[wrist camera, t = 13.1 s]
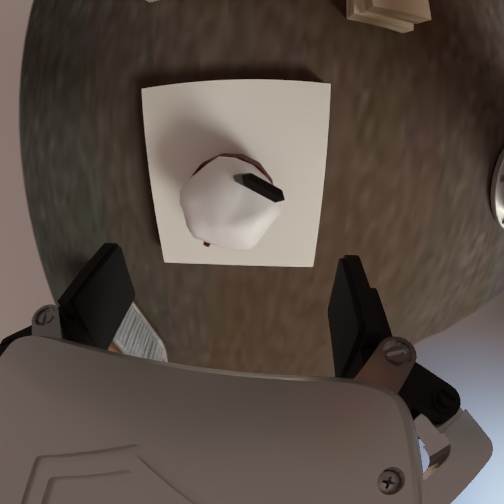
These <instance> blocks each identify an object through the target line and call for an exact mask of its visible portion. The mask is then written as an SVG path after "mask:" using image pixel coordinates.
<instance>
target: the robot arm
mask: <svg viewBox="0 0 504 504" xmlns="http://www.w3.org/2000/svg"><path fill="white" fill-rule="evenodd" d="M491 207H492V212H493V215H494V218H495V220H496V222H497V223H498V224H499V225H500V226H501V227H502V228H503V229H504V148H503V150H502V152H501V154H500V156H499V158H498V161H497V163H496V166H495V169H494V173H493V177H492V184H491ZM134 298H135V292H134V289H133V285H132V282H131V279H130V276H129V273H128V269H127V266H126V263H125V259H124V256H123V252H122V249H121V247H119V246H118V244H116V243H105V244H103V246H102V247H101V248H100V249H99V250H98V251H97V252H96V254H95V255H94V256H93V257H92V258H91V260H90V261H89V262H88V263H87V264H86V266H85V267H84V268H83V269H82V270H81V272H80V273H79V274H78V275H77V277H76V278H75V279H74V280H73V282H72V283H71V284H70V286H69V287H68V288H67V289H66V291H65V292H64V293H63V295H62V296H61V297H60V299H59V300H58V303H59V304H60V306H59V308H57V307H56V306H55V305H45V306H43V307H41V308H40V309H38V310H37V311H36V312H35V314H34V316H33V318H32V325H31V326H29V327H27V328H25V329H23V330H21V331H19V332H16V333H14V334H12V335H10V336H8V337H6V338H5V339H3V340H2V342H1V344H0V504H450V503H451V502H452V501H453V500H454V499H455V498H456V497H457V496H458V495H459V494H460V493H461V492H462V491H463V490H464V489H465V488H466V487H467V486H468V484H469V483H470V482H471V481H472V480H473V479H474V478H475V476H476V475H477V474H478V473H479V472H480V470H481V469H482V468H483V467H484V466H485V464H486V463H487V462H488V460H489V459H490V457H491V455H492V451H493V447H492V443H491V440H490V439H489V437H488V436H487V435H486V434H485V432H484V431H483V430H482V428H481V427H480V426H479V425H478V423H477V422H476V421H475V420H474V419H473V418H472V416H471V415H470V414H469V412H468V411H467V410H466V409H465V410H464V411H463V410H462V409H461V408H460V397H459V394H458V392H457V391H456V389H455V388H453V387H452V386H451V385H449V384H448V383H446V382H445V381H443V380H442V379H440V378H439V377H437V376H436V375H434V374H433V373H431V372H430V371H428V370H427V369H425V368H424V367H422V366H421V365H419V364H418V363H416V362H415V361H416V351H415V349H414V347H413V346H412V344H411V343H410V342H408V341H407V340H406V339H403V338H401V337H396V336H393V337H392V334H391V330H390V327H389V324H388V321H387V318H386V315H385V312H384V309H383V306H382V303H381V300H380V297H379V294H378V292H377V290H376V289H375V288H370V286H369V283H368V280H367V277H366V274H365V271H364V269H363V266H362V263H361V260H360V258H359V256H357V255H345V256H344V258H340V259H339V262H338V267H337V271H336V276H335V281H334V285H333V289H332V294H331V298H330V302H329V306H328V318H329V326H330V333H331V341H332V350H333V358H334V367H335V377H320V376H295V375H277V374H261V373H248V372H237V371H227V370H218V369H210V368H202V367H195V366H188V365H181V364H175V363H168V362H163V361H157V360H151V359H146V358H141V357H136V356H131V355H126V354H122V353H117V352H113V351H109V350H108V348H109V346H110V344H111V342H112V340H113V338H114V336H115V335H116V333H117V331H118V329H119V327H120V325H121V323H122V321H123V319H124V317H125V316H126V314H127V312H128V310H129V308H130V306H131V305H132V303H133V301H134ZM418 439H421V440H422V442H423V443H424V444H425V446H424V448H425V450H426V451H427V453H428V455H429V459H430V463H429V466H428V468H427V470H426V471H425V472H424V473H423V470H422V461H421V454H420V447H419V441H418ZM383 471H384V472H383ZM381 472H382V473H381Z"/></svg>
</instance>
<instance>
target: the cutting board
mask: <svg viewBox="0 0 504 504" xmlns="http://www.w3.org/2000/svg"><path fill="white" fill-rule="evenodd" d="M141 90H142V106H143V119H144V130H145V140H146V149H147V158H148V166H149V174H150V181H151V188H152V195H153V201H154V208H155V214H156V220H157V225H158V231H159V236H160V242H161V247H162V252H163V257H164V262H170V263H195V264H224V265H256V266H292V267H313V264H314V257H315V250H316V243H317V235H318V228H319V220H320V212H321V203H322V194H323V185H324V175H325V165H326V153H327V141H328V127H329V111H330V90H331V84H327V83H318V82H306V81H292V80H266V79H240V80H214V81H200V82H188V83H179V84H170V85H163V86H156V87H149V88H143V89H141ZM223 153H232V154H244V155H246V156H248V157H250V158H252V159H254V160H256V161H258V162H259V163H260V164H261V165H262V166H263V168H264V169H265V170H266V172H267V173H268V174H269V176H270V177H271V178H272V180H273V185H274V186H276V187H277V188H279V189H281V190H282V191H283V195H284V199H285V200H283V201H280V203H281V213H280V215H279V216H278V217H277V218H276V219H275V221H274V222H273V223H272V224H271V225H270V227H269V228H268V230H267V231H266V232H265V234H264V235H263V237H262V238H261V239H260V241H259V242H258V243H257V244H256V245H255V246H254V248H253V249H232V248H220V247H218V246H215V245H213V244H210V246H209V247H207V246H204V245H203V243H204V241H202V240H199V239H196V238H193V236H192V234H191V233H190V231H189V229H188V228H187V226H186V222H185V217H184V213H183V209H182V207H181V205H180V190H181V189H182V187H183V186H184V185H185V184H186V182H187V181H188V180H189V179H190V177H191V176H192V175H193V173H194V172H195V171H196V170H197V168H198V167H199V166H200V165H201V164H202V163H203V162H204V161H207V160H209V159H211V158H213V157H215V156H218V155H220V154H223Z"/></svg>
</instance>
